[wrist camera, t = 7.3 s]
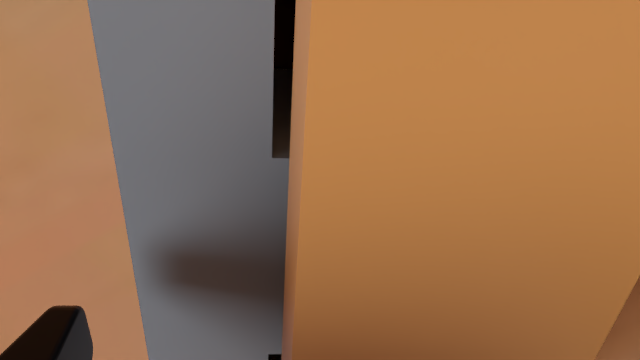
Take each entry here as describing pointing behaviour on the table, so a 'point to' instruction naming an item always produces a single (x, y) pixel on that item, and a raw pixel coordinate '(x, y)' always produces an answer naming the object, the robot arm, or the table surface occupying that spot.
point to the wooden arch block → (461, 178)
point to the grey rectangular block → (200, 169)
